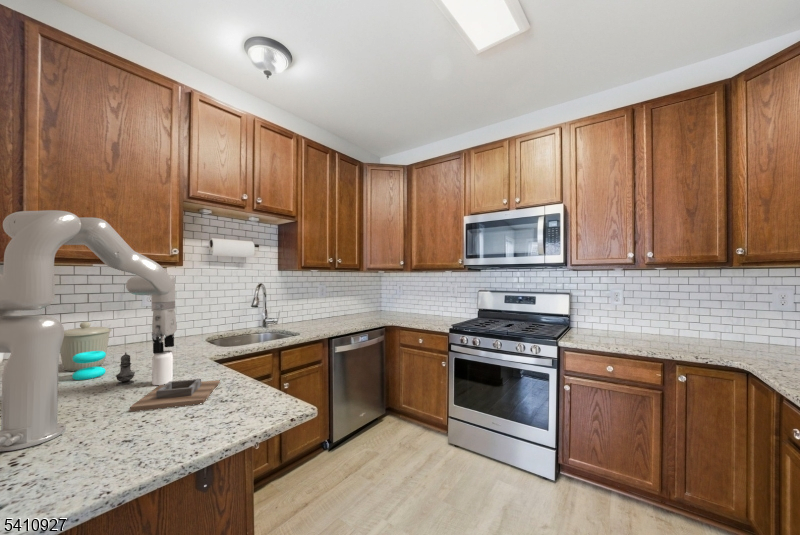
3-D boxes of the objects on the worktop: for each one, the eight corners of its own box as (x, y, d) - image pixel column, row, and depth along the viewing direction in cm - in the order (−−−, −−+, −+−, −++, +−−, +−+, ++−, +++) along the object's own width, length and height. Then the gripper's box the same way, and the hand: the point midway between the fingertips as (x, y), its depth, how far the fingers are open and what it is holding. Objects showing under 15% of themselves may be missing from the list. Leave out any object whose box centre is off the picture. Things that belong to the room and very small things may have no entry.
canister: (70, 364, 151) (71, 320, 151) (118, 360, 157) (119, 318, 158) (44, 376, 134) (45, 325, 135) (99, 371, 140) (99, 323, 141)
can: (148, 384, 123) (148, 353, 123) (167, 379, 128) (167, 349, 129) (157, 386, 120) (157, 354, 120) (176, 381, 125) (176, 351, 126)
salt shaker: (123, 386, 121) (123, 354, 121) (111, 385, 122) (111, 354, 122) (139, 381, 126) (139, 351, 127) (127, 380, 128) (127, 350, 128)
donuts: (103, 353, 131) (69, 357, 126) (102, 378, 131) (68, 382, 125) (108, 349, 140) (76, 352, 134) (108, 372, 139) (76, 376, 134)
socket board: (203, 404, 103) (203, 391, 103) (129, 411, 98) (129, 398, 98) (219, 384, 122) (219, 373, 123) (159, 389, 117) (159, 378, 117)
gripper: (165, 308, 118) (165, 354, 118) (182, 303, 134) (183, 344, 134) (141, 309, 116) (141, 356, 116) (162, 304, 132) (162, 345, 132)
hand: (164, 349), depth 125 cm, fingers open, 9 cm apart
